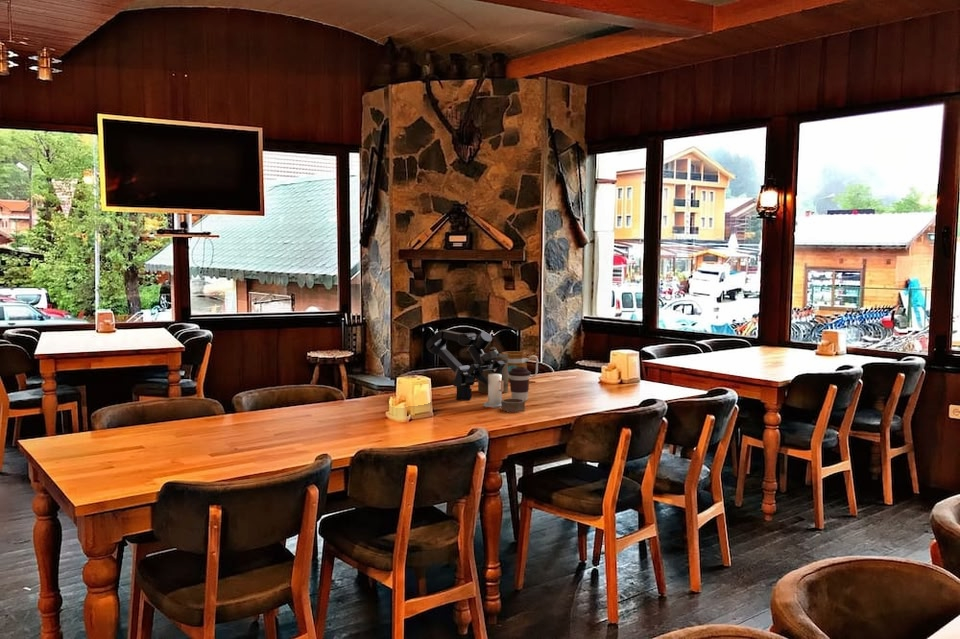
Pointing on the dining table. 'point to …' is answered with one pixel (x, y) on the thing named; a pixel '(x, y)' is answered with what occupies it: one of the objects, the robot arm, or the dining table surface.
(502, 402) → the holder
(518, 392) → the coffee cup
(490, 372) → the wooden container
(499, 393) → the jug
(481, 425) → the dining table surface
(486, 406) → the plate
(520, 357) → the mug
